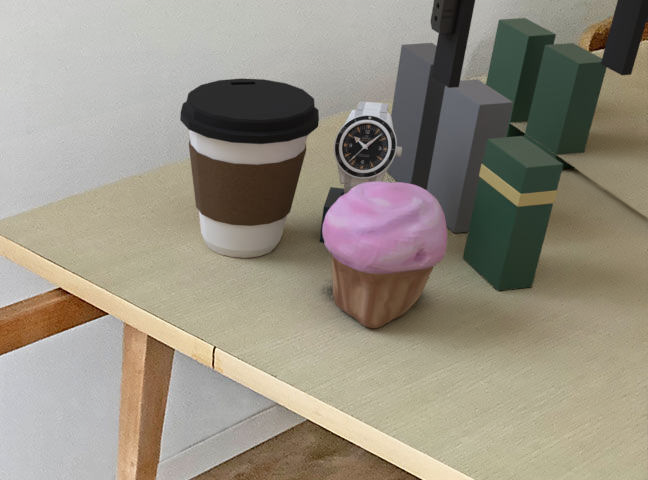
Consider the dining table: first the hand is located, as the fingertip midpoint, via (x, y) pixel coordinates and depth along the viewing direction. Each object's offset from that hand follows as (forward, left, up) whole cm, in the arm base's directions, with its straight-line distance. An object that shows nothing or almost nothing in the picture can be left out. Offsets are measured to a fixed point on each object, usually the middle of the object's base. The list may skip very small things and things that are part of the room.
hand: (531, 76), depth 77 cm
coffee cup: (+10, +17, -16) cm, 26 cm away
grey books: (+15, -3, -16) cm, 22 cm away
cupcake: (-4, +11, -16) cm, 20 cm away
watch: (+9, +7, -16) cm, 20 cm away
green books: (+26, -19, -16) cm, 36 cm away
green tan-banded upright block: (0, -1, -16) cm, 16 cm away
